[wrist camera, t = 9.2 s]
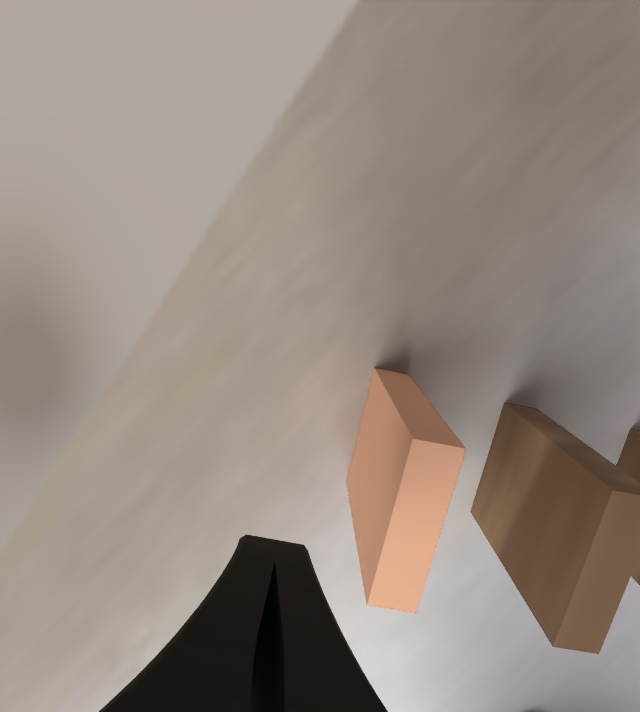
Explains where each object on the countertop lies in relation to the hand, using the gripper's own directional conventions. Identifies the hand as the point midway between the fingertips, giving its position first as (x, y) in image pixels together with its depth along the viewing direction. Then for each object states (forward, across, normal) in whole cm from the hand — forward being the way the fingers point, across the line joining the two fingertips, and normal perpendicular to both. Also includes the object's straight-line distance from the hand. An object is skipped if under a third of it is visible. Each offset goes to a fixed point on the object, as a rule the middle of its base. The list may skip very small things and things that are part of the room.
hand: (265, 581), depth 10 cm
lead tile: (+10, -4, 0) cm, 10 cm away
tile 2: (+10, -9, 0) cm, 13 cm away
